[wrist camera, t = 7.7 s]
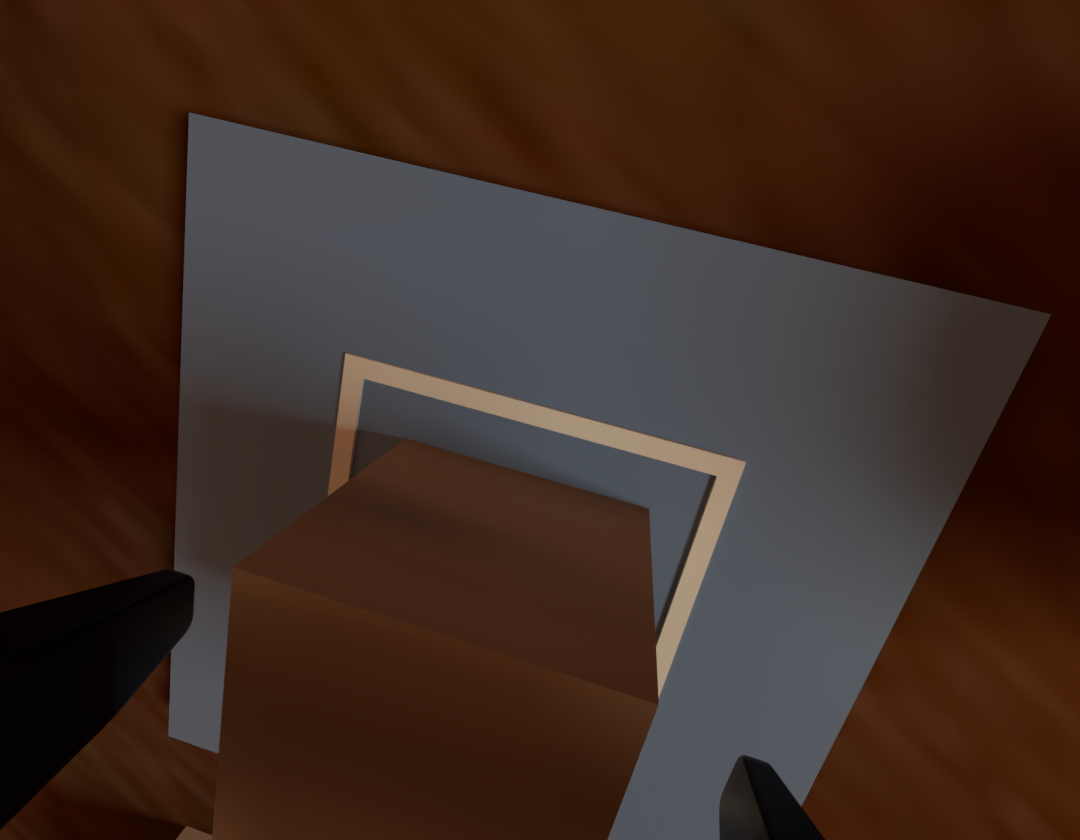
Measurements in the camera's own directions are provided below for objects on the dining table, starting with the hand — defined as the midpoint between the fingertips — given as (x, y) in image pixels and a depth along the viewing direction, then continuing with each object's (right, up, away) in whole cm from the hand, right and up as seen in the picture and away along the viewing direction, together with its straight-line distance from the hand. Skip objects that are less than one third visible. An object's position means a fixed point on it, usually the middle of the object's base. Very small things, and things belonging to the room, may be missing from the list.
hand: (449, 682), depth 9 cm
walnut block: (+1, +1, +3) cm, 3 cm away
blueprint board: (+1, +1, +4) cm, 4 cm away
